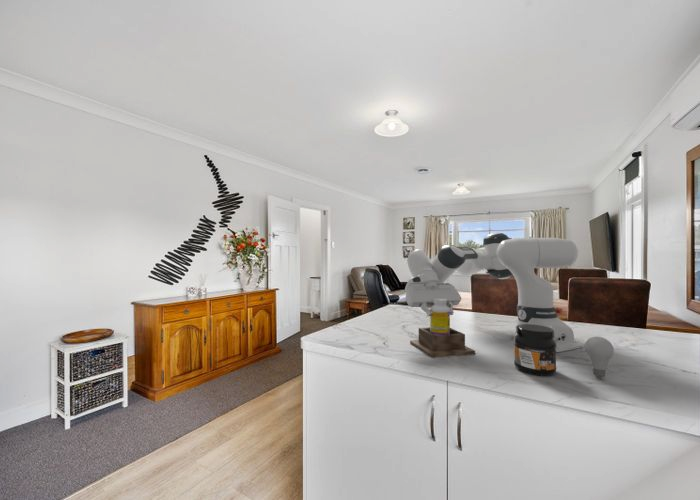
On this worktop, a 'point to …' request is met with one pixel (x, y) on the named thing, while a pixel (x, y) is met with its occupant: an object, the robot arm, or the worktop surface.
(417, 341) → the bottle caddy
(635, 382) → the worktop surface
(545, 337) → the supplement container
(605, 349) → the lightbulb
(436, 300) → the supplement bottle
